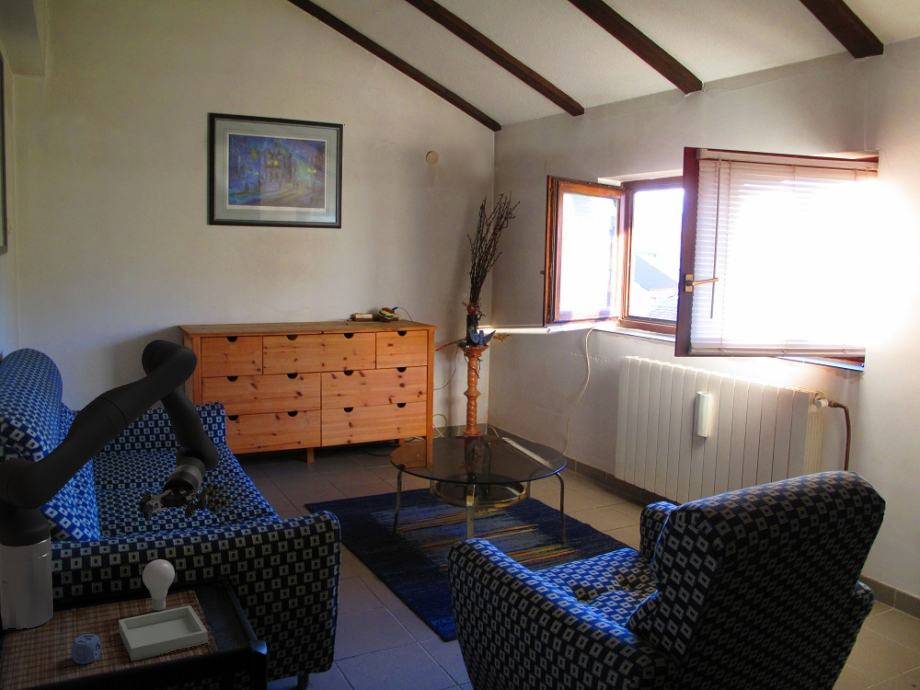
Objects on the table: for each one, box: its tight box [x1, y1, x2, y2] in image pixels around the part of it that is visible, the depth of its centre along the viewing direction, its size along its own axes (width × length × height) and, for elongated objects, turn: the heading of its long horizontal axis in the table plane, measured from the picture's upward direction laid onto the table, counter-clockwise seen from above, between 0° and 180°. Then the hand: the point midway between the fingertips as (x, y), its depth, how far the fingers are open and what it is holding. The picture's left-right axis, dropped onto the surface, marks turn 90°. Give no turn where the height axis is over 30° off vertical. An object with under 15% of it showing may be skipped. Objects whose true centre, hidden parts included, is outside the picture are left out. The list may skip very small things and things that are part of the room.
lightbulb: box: [141, 558, 176, 612], centre depth 173 cm, size 6×6×11 cm
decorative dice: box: [70, 633, 102, 665], centre depth 154 cm, size 4×4×4 cm
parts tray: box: [118, 605, 209, 662], centre depth 162 cm, size 14×13×2 cm
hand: (166, 515), depth 181 cm, fingers open, 8 cm apart
